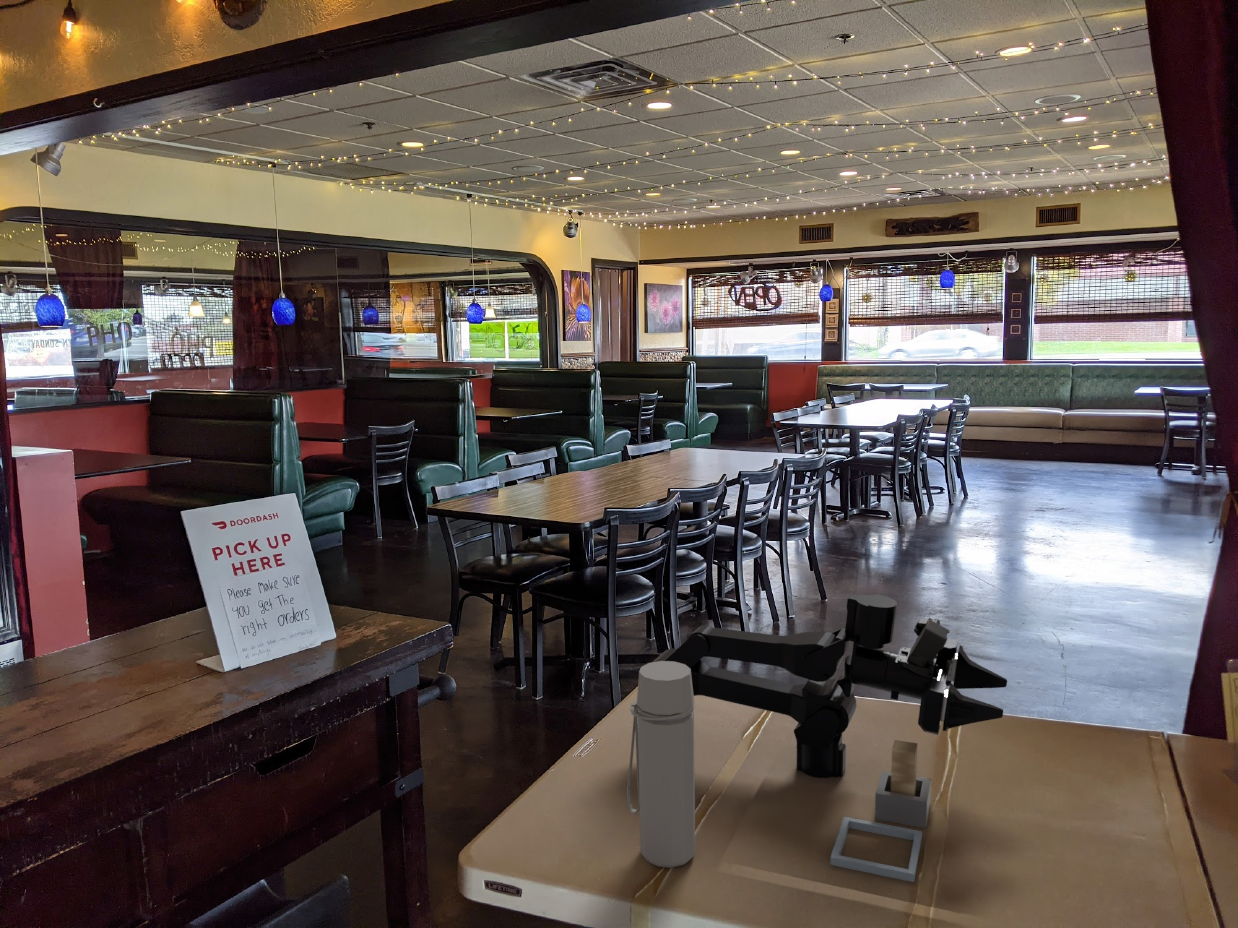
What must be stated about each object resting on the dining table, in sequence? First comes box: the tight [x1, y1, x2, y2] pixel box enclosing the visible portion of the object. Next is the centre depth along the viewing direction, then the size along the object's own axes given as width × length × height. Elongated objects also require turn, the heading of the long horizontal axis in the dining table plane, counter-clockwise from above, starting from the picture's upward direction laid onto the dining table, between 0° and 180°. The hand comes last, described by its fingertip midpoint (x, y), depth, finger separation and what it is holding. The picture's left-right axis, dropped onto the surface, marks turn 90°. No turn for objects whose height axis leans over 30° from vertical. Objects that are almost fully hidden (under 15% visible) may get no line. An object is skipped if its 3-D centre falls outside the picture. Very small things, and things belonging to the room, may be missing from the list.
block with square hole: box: [874, 770, 932, 829], centre depth 127 cm, size 7×7×4 cm
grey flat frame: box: [829, 816, 923, 883], centre depth 118 cm, size 10×10×2 cm
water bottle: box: [626, 661, 696, 868], centre depth 118 cm, size 9×8×25 cm
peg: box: [890, 739, 918, 797], centre depth 126 cm, size 3×3×10 cm
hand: (1004, 697), depth 126 cm, fingers open, 9 cm apart
